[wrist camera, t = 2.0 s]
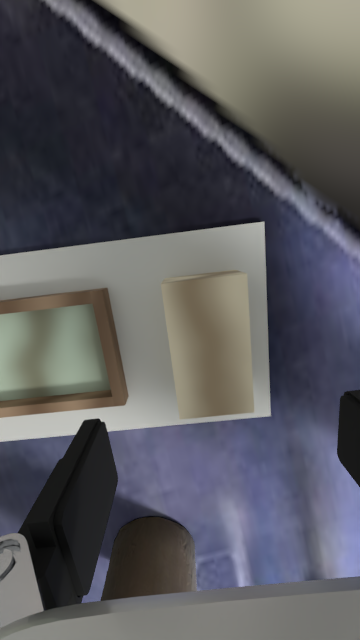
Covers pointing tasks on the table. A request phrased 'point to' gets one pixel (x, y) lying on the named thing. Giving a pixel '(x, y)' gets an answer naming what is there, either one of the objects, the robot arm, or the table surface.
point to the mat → (142, 316)
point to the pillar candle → (150, 560)
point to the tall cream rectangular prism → (210, 343)
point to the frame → (59, 354)
